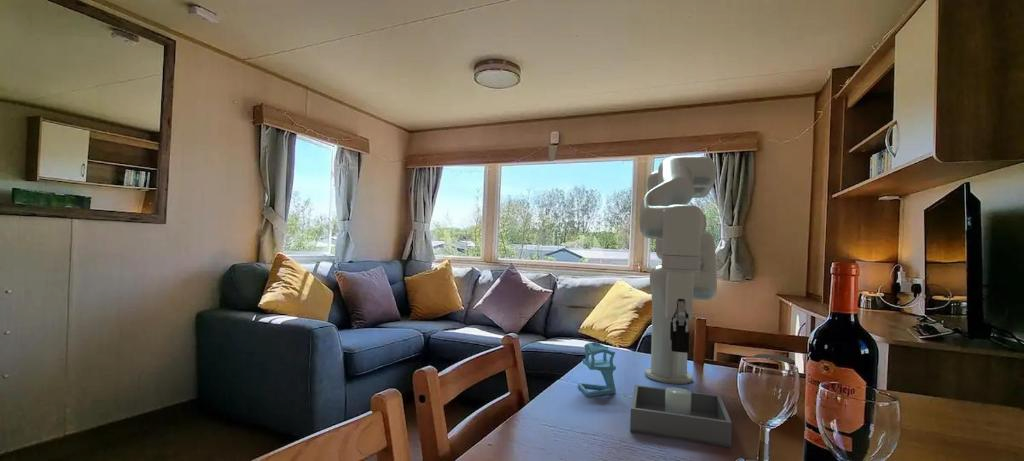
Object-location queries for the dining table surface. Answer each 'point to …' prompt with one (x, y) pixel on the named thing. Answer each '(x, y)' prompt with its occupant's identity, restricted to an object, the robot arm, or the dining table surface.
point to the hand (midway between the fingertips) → (678, 346)
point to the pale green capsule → (678, 401)
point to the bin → (681, 417)
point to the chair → (601, 365)
